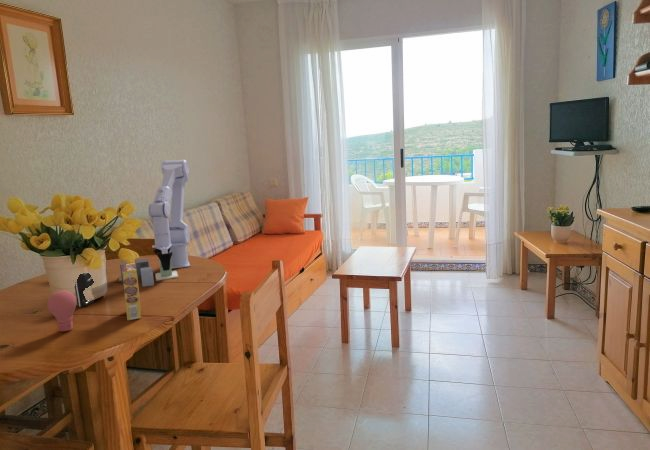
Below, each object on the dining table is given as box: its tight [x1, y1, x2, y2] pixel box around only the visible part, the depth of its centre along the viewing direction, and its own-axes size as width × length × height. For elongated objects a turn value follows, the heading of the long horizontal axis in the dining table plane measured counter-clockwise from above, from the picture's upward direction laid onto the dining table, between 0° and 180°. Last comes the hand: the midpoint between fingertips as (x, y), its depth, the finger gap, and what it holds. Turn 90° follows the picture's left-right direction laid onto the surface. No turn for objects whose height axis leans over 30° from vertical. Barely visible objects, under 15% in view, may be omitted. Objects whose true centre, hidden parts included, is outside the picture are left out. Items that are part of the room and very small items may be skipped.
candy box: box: [121, 263, 142, 321], centre depth 142 cm, size 9×4×15 cm, turn 24°
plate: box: [154, 270, 179, 281], centre depth 182 cm, size 8×8×1 cm
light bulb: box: [47, 289, 77, 332], centre depth 132 cm, size 7×7×12 cm
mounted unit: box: [118, 258, 150, 284], centre depth 181 cm, size 7×12×6 cm, turn 112°
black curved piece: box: [74, 273, 95, 308], centre depth 154 cm, size 7×4×11 cm, turn 178°
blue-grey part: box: [140, 266, 155, 288], centre depth 172 cm, size 4×4×6 cm
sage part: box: [158, 258, 173, 277], centre depth 181 cm, size 4×4×6 cm
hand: (165, 267), depth 181 cm, fingers open, 7 cm apart
